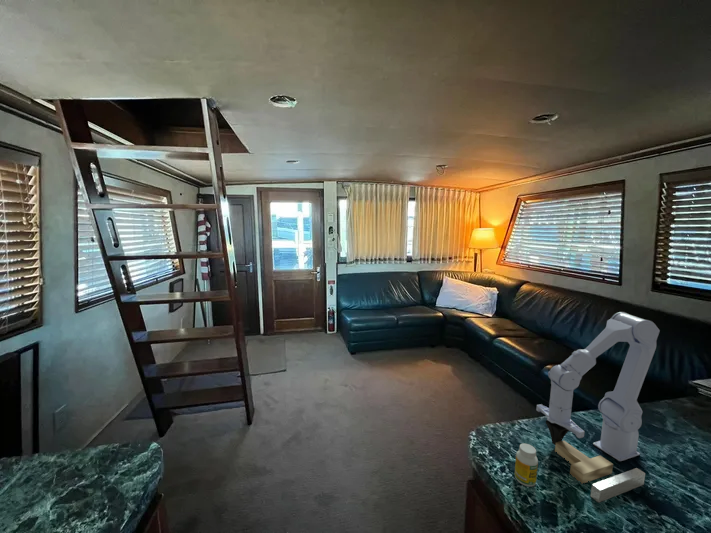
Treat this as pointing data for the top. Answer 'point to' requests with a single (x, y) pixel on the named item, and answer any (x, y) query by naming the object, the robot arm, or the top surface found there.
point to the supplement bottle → (526, 465)
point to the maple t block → (583, 463)
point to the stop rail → (617, 484)
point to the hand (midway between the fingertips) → (556, 443)
